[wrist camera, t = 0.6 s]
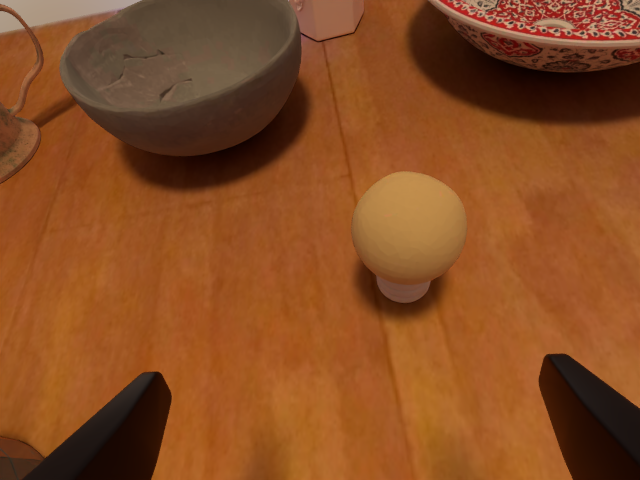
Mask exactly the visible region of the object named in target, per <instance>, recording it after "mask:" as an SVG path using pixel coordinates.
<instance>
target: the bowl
mask: <svg viewBox="0 0 640 480" xmlns="http://www.w3.org/2000/svg"><path fill="white" fill-rule="evenodd" d="M300 63H301V35H300V28H299V23H298V19H297V16H296V13H295V11H294V9H293V7H292V5H291V4H290V3H289V1H288V0H142V1H140V2H137V3H135V4H133V5H131V6H128V7H126V8H125V9H123V10H121V11H120V12H119V13H118V14H115V15H114V16H112V17H110V18H108V19H107V20H105V21H103V22H101V23H99V24H97V25H95V26H93V27H92V28H90V29H89V30H87V31H83V32H81V33H79V34H77V35H76V36H74V37H73V38H72V40H71V41H70V43H69V44H68V46H67V47H66V49H65V51H64V53H63V55H62V57H61V60H60V75H61V79H62V81H63V83H64V85H65V87H66V89H67V90H68V91H69V93H70V94H71V95H72V97H73V98H74V99H75V101H76V102H77V103H78V104H79V106H80V107H81V108H82V109H83V110H84V111H85V112H86V114H87V115H88V116H89V117H90V118H91V119H92V120H94V121H95V122H96V123H97V124H99V125H100V126H101V127H102V128H104V129H105V130H106V131H108V132H109V133H111V134H112V135H114V136H115V137H117V138H118V139H120V140H122V141H124V142H125V143H127V144H129V145H131V146H133V147H136V148H139V149H142V150H145V151H148V152H152V153H156V154H162V155H169V156H195V155H203V154H208V153H212V152H216V151H220V150H223V149H226V148H230V147H233V146H235V145H237V144H239V143H242V142H244V141H246V140H247V139H249V138H251V137H253V136H254V135H256V134H257V133H259V132H260V131H261V130H263V129H264V128H265V127H266V126H267V125H268V124H269V123H270V122H271V121H272V120H273V119H274V118H275V117H276V115H277V114H278V113H279V111H280V110H281V108H282V107H283V106H284V104H285V103H286V101H287V99H288V97H289V95H290V93H291V91H292V89H293V87H294V85H295V82H296V80H297V76H298V73H299V68H300Z"/></svg>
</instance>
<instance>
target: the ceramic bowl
mask: <svg viewBox="0 0 640 480" xmlns="http://www.w3.org/2000/svg"><path fill="white" fill-rule="evenodd" d="M428 1H429V2H430V3H431V4H432V5H433V6H435V7H436V8H437V9H439V10H440V11H442V12H443V13H444V15H445V17H446V18H447V20H448V21H449V22H450V24H451V25H452V26H453V27H454V28H455V30H456V31H457V32H458V33H459V34H460V35H461V36H462V37H464V38H465V39H466V40H467V41H468V42H470V43H471V44H472V45H474V46H475V47H476V48H478V49H480V50H481V51H483V52H485V53H486V54H488V55H490V56H492V57H494V58H497V59H499V60H501V61H504V62H507V63H510V64H513V65H517V66H521V67H525V68H530V69H535V70H542V71H551V72H588V71H597V70H605V69H611V68H616V67H621V66H625V65H629V64H633V63H637V62H640V0H428Z"/></svg>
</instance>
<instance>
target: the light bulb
mask: <svg viewBox="0 0 640 480" xmlns="http://www.w3.org/2000/svg"><path fill="white" fill-rule="evenodd" d="M466 233H467V220H466V213H465V210H464V207H463V204H462V202H461V200H460V199H459V197H458V196H457V194H456V193H455V192H454V191H453V190H452V189H451V188H450V187H448V186H447V185H445V184H444V183H442V182H441V181H439V180H437V179H435V178H433V177H431V176H428V175H425V174H421V173H415V172H397V173H393V174H390V175H388V176H386V177H384V178H382V179H381V180H379V181H378V182H376V183H375V184H374V185H372V186H371V187H370V188H369V189H368V190H367V191H366V192H365V194H364V195H363V196H362V198H361V199H360V201H359V202H358V204H357V206H356V208H355V211H354V214H353V218H352V226H351V234H352V240H353V244H354V247H355V249H356V252H357V254H358V256H359V257H360V259H361V260H362V262H363V263H364V264H365V266H366V267H368V268H369V269H370V270H371V271H372V272H373V273H374V274H376V277H377V284H378V287H379V289H380V291H381V292H382V293H383V294H384V295H385V296H386V297H387V298H389V299H391V300H393V301H396V302H400V303H410V302H413V301H416V300H418V299H420V298H421V297H422V296H424V295H425V293H426V292H427V291H428V289H429V286H430V282H431V280H433V279H435V278H437V277H439V276H440V275H442V274H444V273H445V272H446V271H447V270H448V269H449V268H450V267H451V266H452V265H453V264H454V263H455V262H456V260H457V259H458V257H459V255H460V253H461V251H462V249H463V246H464V244H465V239H466Z"/></svg>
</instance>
